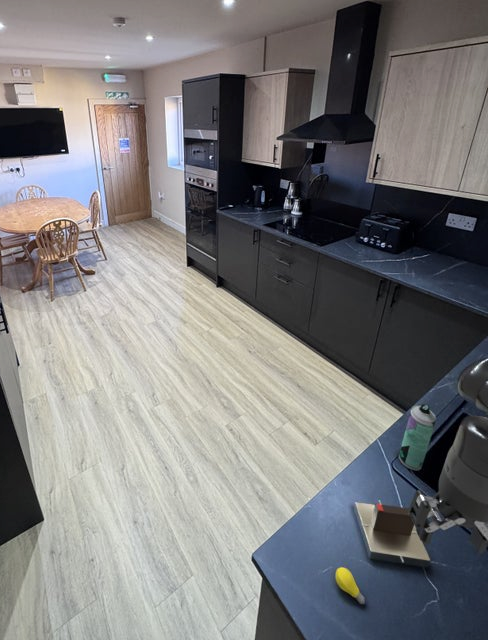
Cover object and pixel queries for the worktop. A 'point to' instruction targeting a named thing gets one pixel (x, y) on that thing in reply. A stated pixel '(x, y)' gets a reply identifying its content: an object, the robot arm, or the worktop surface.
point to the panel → (390, 541)
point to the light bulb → (348, 584)
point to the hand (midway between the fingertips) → (448, 542)
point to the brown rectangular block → (392, 519)
